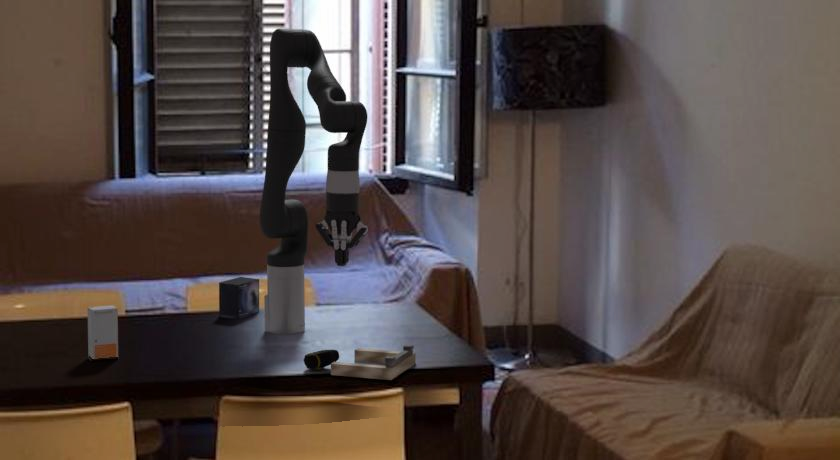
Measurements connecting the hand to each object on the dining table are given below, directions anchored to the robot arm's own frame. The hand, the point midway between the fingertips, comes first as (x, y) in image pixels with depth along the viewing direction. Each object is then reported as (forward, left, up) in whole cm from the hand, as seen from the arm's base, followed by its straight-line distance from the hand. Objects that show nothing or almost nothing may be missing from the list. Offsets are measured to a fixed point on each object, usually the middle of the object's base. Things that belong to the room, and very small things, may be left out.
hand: (341, 265), depth 295 cm
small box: (-42, +32, -22) cm, 58 cm away
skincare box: (-51, -18, -22) cm, 59 cm away
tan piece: (+10, -7, -22) cm, 25 cm away
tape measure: (+2, -9, -21) cm, 23 cm away
